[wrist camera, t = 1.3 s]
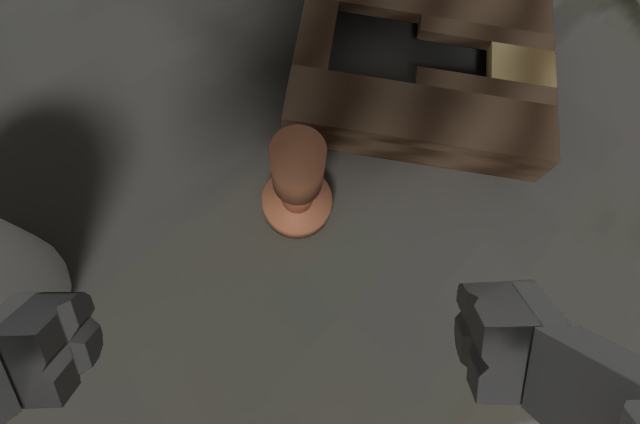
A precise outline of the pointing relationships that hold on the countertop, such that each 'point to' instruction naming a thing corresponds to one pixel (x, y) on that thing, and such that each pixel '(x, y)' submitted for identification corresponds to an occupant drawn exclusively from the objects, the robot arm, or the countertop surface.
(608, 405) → the robot arm
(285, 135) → the peg
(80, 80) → the countertop surface
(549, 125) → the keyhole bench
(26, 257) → the mug
